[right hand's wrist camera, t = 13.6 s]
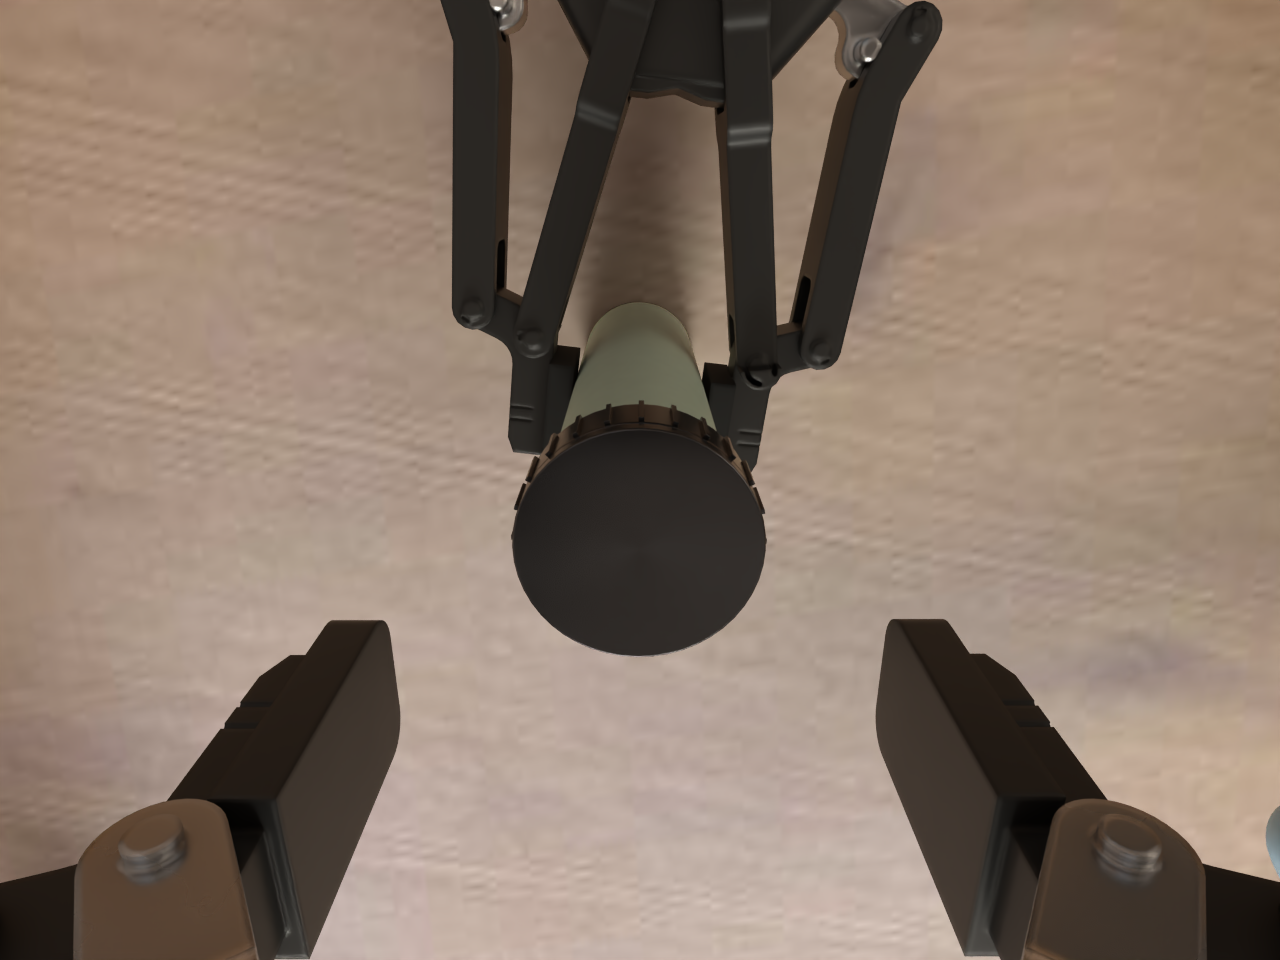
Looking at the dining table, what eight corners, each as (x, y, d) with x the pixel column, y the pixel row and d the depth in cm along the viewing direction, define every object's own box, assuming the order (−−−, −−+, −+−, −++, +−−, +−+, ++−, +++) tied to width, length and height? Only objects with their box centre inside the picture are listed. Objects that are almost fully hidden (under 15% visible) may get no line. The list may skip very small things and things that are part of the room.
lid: (695, 647, 18) (701, 692, 17) (487, 568, 18) (472, 608, 16) (798, 456, 17) (815, 486, 15) (573, 360, 16) (566, 382, 14)
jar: (665, 421, 32) (689, 657, 17) (569, 381, 32) (504, 587, 16) (709, 327, 31) (780, 489, 15) (610, 284, 31) (581, 406, 15)
